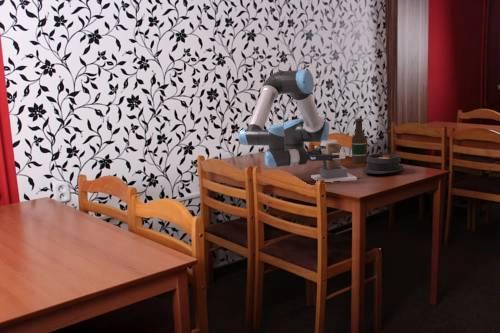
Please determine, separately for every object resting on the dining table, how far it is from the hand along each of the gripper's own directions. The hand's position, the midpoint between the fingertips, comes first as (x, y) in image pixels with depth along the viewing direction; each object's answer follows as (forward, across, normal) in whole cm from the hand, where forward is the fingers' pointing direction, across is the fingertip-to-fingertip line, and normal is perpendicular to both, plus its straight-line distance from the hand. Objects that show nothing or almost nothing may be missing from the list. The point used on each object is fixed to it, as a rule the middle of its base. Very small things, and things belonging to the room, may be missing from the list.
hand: (339, 153), depth 261 cm
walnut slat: (-3, 0, -11) cm, 12 cm away
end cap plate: (-3, 0, -12) cm, 13 cm away
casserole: (+24, -3, -12) cm, 28 cm away
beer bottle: (+24, -32, -12) cm, 42 cm away
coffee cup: (+3, -23, -12) cm, 26 cm away
